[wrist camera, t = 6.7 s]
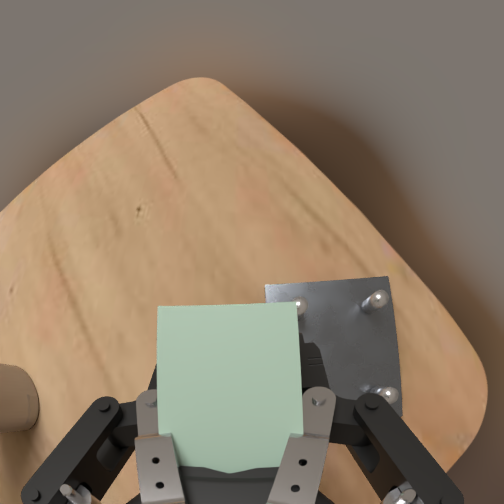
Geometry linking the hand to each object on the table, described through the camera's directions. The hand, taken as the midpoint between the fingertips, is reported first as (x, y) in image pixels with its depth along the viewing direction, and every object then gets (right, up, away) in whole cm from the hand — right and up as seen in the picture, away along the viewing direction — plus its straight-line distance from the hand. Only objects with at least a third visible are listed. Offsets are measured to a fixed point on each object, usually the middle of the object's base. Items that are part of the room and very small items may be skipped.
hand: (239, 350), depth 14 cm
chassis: (+9, -6, +17) cm, 20 cm away
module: (0, -4, +4) cm, 5 cm away
